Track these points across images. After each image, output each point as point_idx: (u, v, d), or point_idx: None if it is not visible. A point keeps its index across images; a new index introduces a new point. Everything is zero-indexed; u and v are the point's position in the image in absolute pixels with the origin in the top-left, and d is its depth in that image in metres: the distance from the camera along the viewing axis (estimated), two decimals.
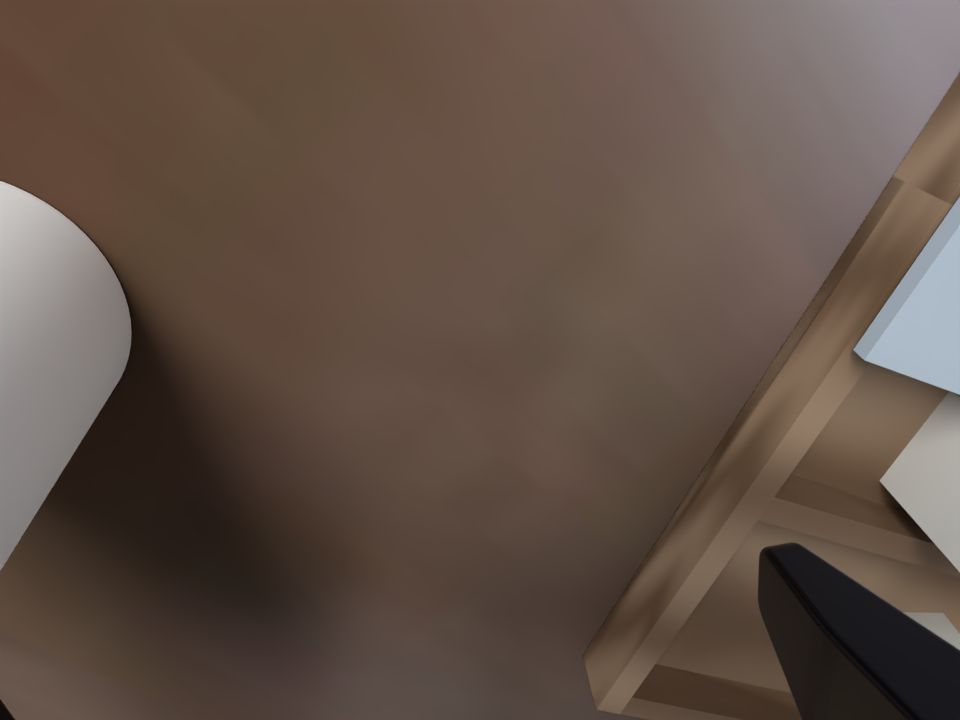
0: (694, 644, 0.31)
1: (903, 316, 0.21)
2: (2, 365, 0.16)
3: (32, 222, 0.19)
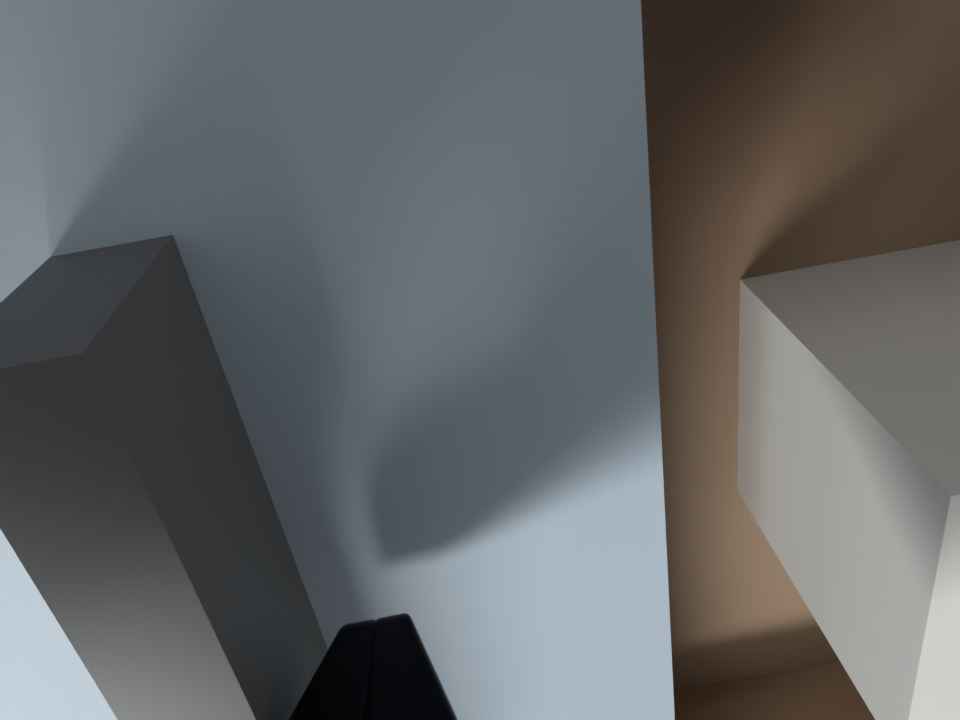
0: None
1: None
2: None
3: None
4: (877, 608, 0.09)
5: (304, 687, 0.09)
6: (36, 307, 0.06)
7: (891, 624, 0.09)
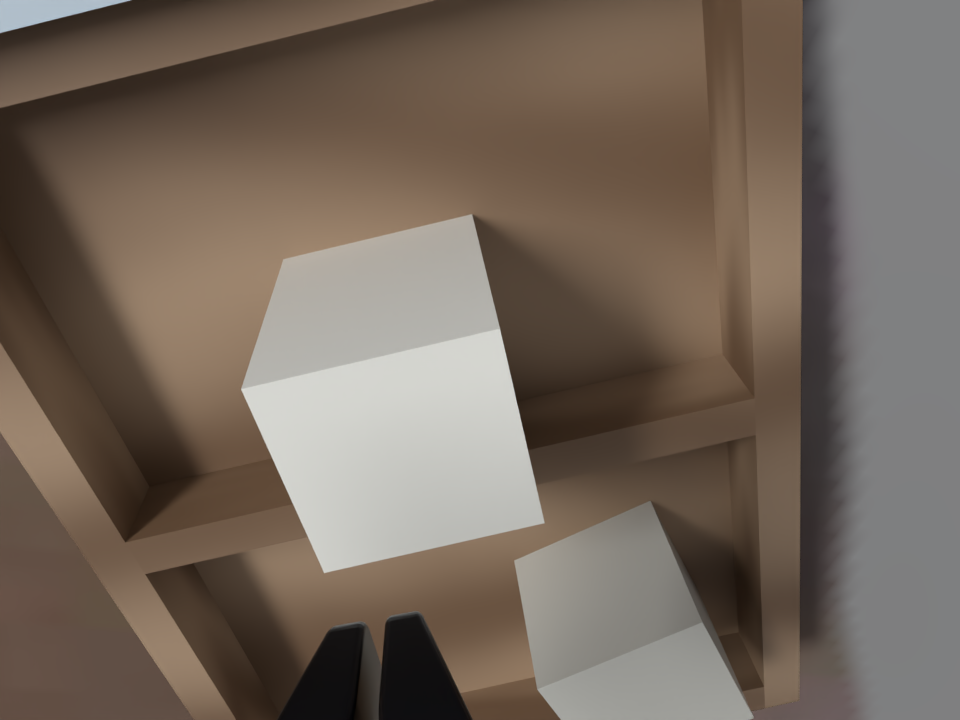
0: None
1: None
2: None
3: None
4: (350, 338, 0.12)
5: None
6: None
7: (353, 345, 0.12)
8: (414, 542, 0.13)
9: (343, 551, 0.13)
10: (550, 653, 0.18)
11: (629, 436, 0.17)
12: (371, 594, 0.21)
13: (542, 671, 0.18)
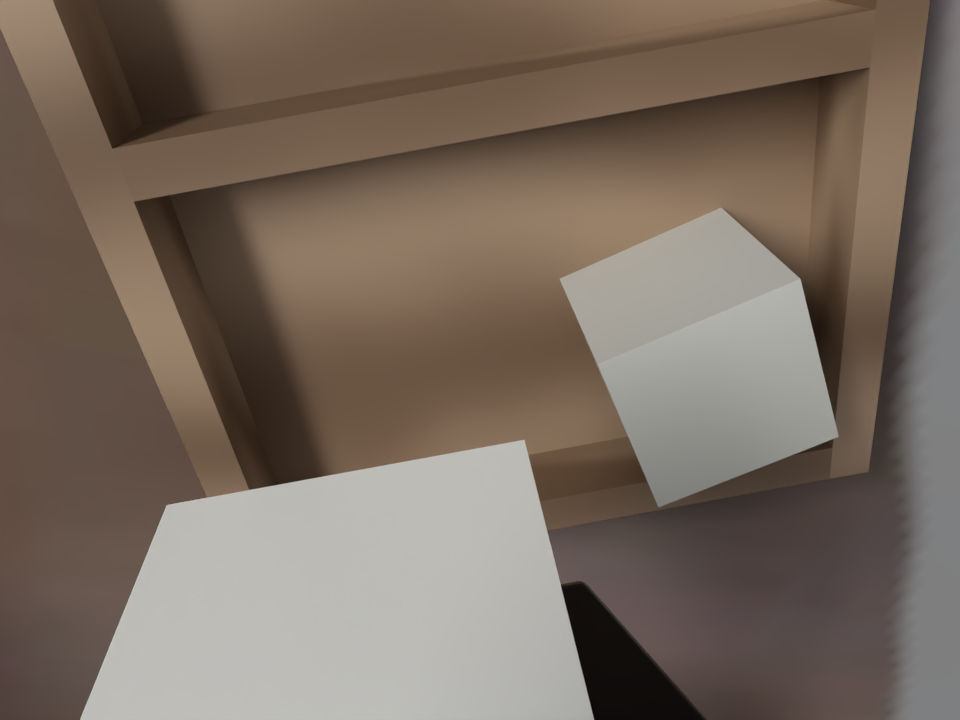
0: (369, 438, 0.20)
1: None
2: None
3: None
4: None
5: None
6: None
7: None
8: None
9: None
10: (611, 335, 0.15)
11: (725, 51, 0.14)
12: (391, 312, 0.18)
13: (602, 350, 0.15)
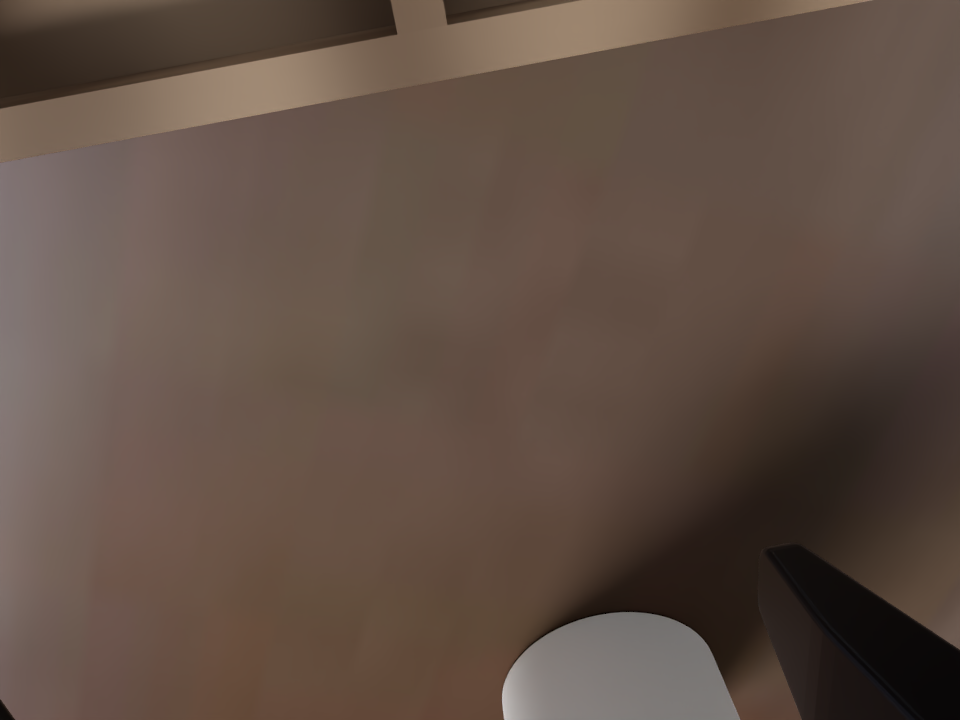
0: None
1: None
2: None
3: (508, 714, 0.27)
4: None
5: None
6: None
7: None
8: None
9: None
10: None
11: None
12: None
13: None
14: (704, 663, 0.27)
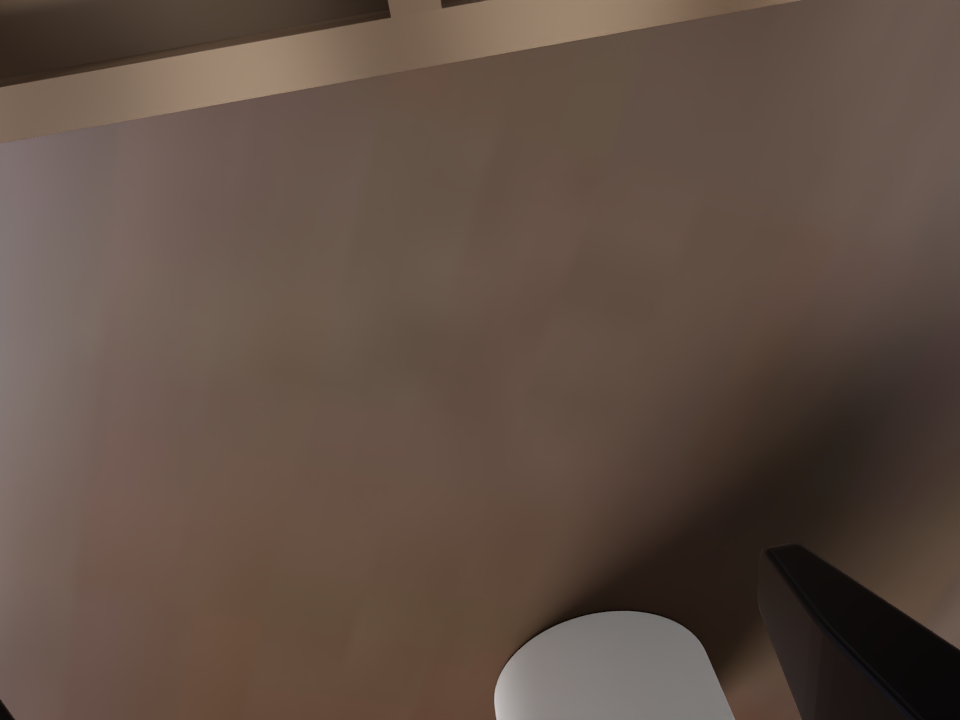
0: None
1: None
2: None
3: (500, 714, 0.27)
4: None
5: None
6: None
7: None
8: None
9: None
10: None
11: None
12: None
13: None
14: (698, 662, 0.26)
